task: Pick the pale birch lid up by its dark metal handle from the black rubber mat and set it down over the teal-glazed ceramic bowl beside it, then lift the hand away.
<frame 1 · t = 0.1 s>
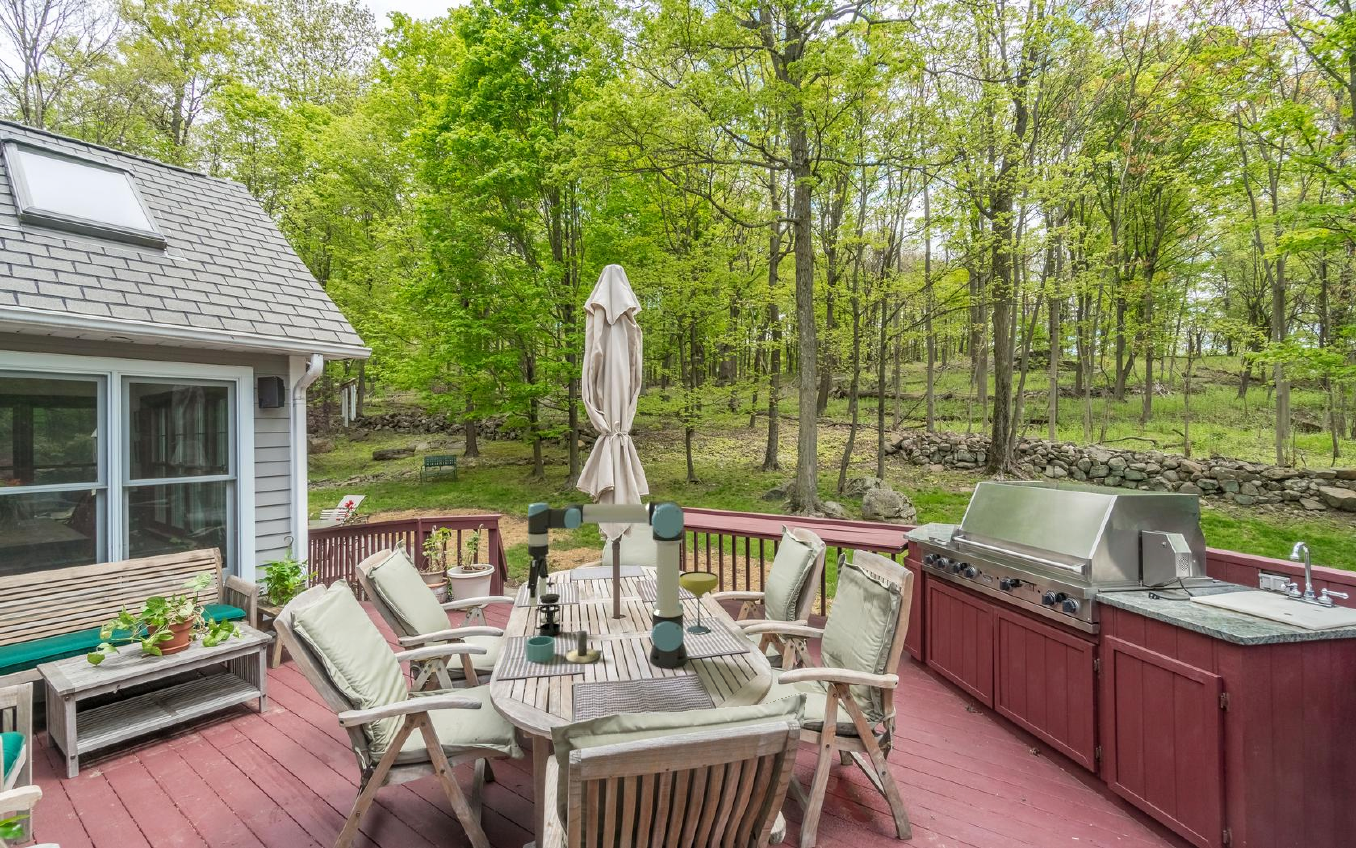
hand: (538, 600, 221), 28 cm above the table, fingers open, 13 cm apart
french press: (548, 634, 264), on the table
mat: (582, 658, 236), on the table
lid: (582, 657, 236), point 1 cm above the table, touching mat
cocktail glass: (698, 630, 268), on the table
bowl: (540, 658, 236), on the table
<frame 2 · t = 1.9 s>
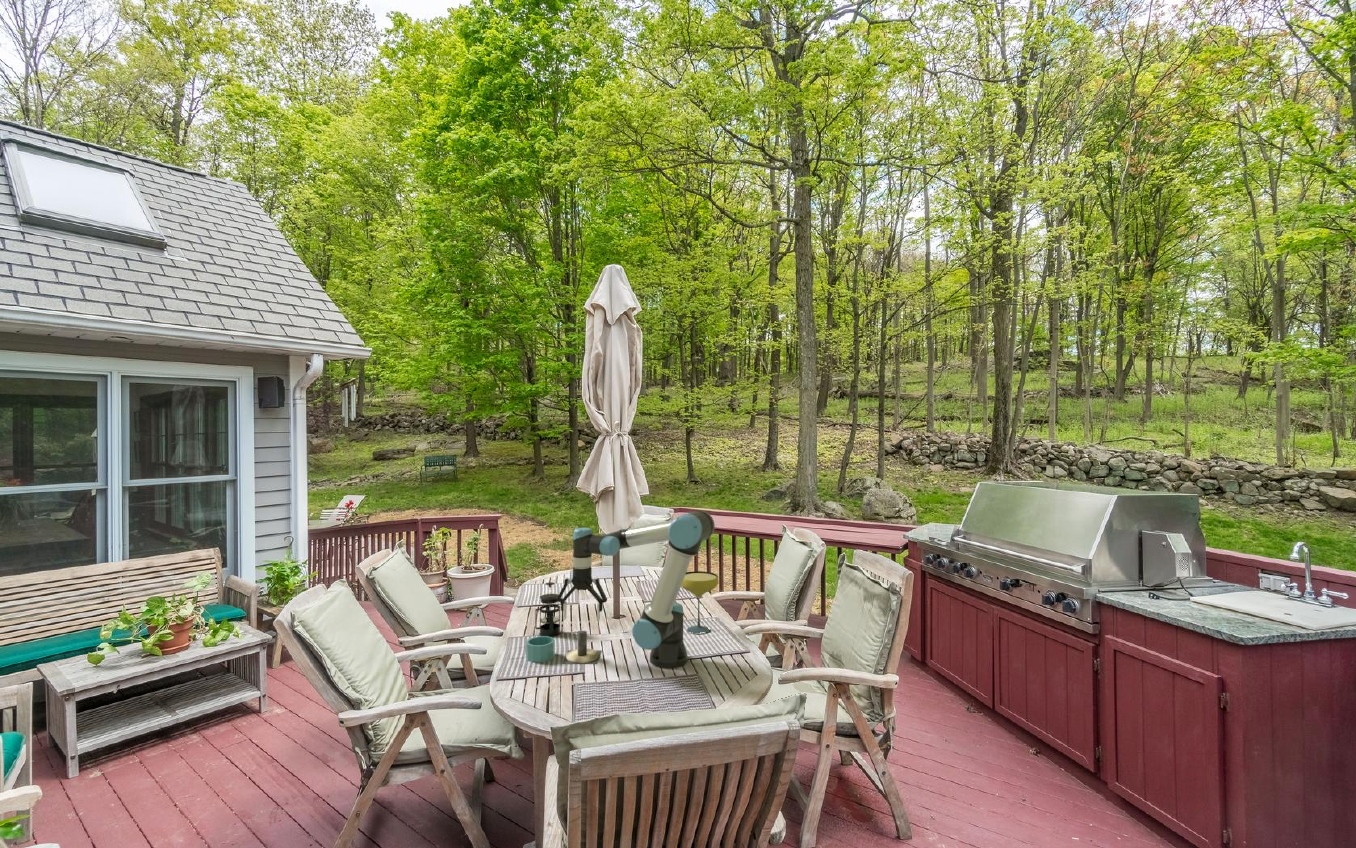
hand: (581, 619, 236), 16 cm above the table, fingers open, 13 cm apart
nothing on the table moved.
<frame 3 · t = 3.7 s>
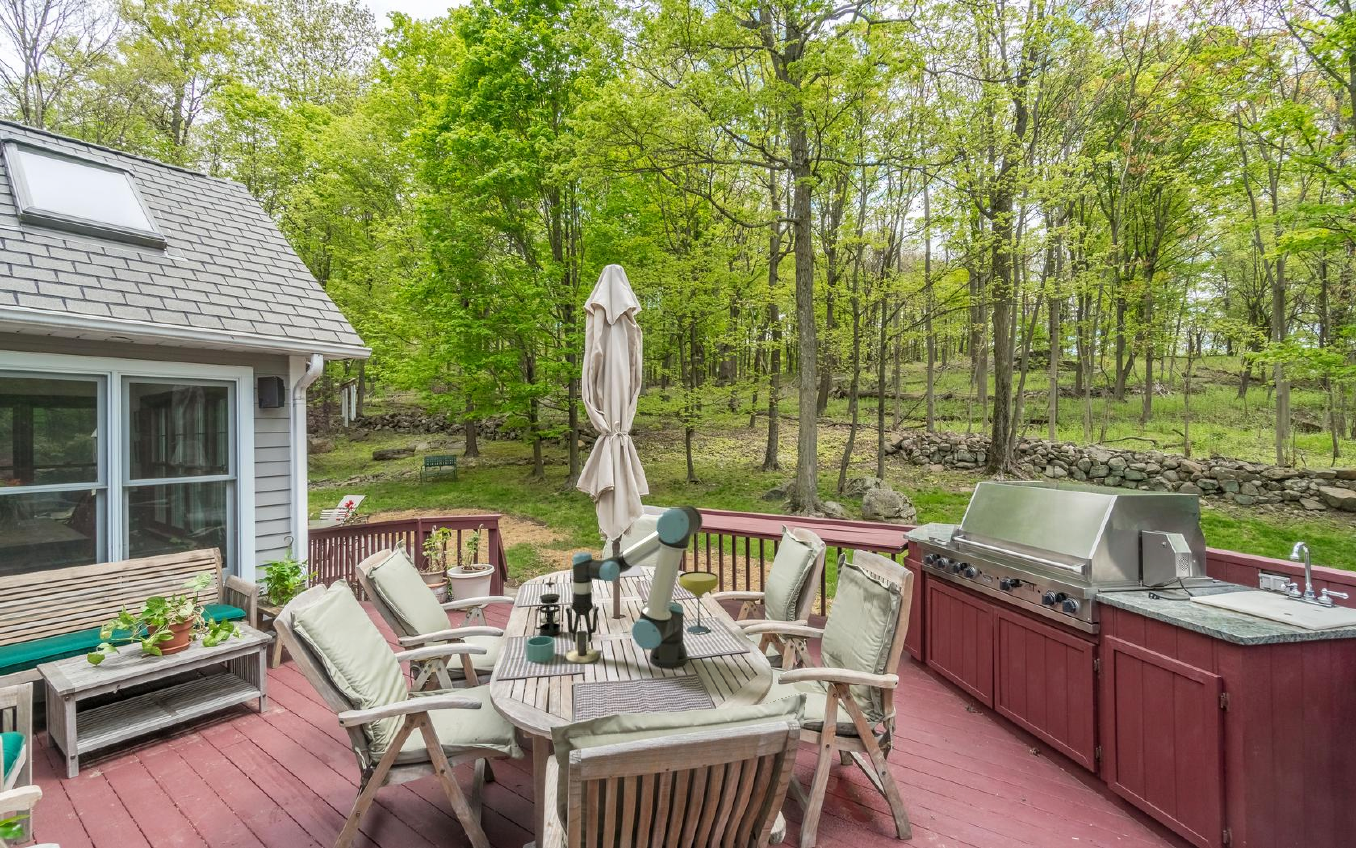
hand: (582, 649, 236), 4 cm above the table, fingers closed on lid, 3 cm apart
lid: (582, 657, 236), point 1 cm above the table, touching gripper
everything else where it was.
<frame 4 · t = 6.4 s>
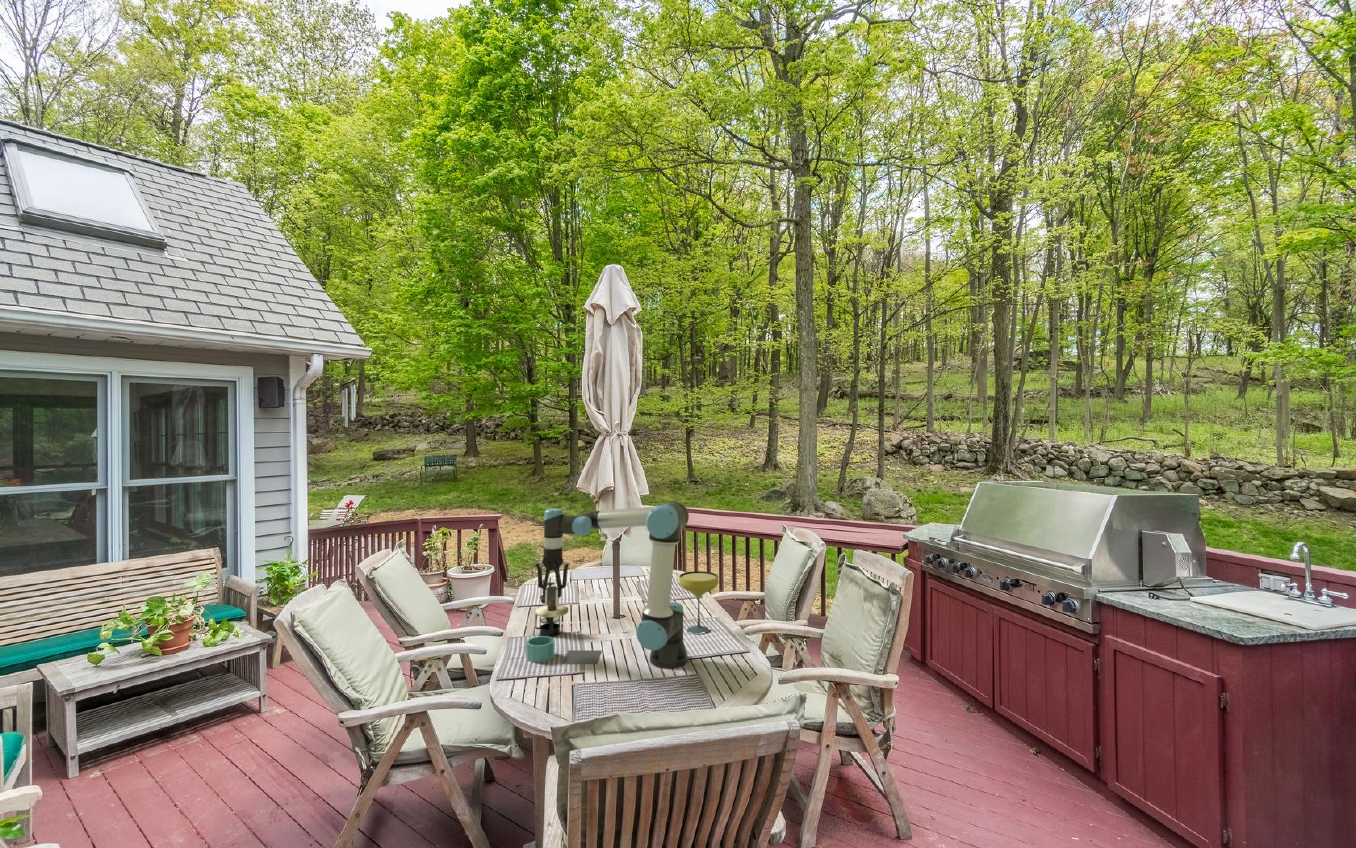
hand: (551, 604, 236), 22 cm above the table, fingers closed on lid, 3 cm apart
lid: (551, 612, 236), point 19 cm above the table, touching gripper
everything else where it was.
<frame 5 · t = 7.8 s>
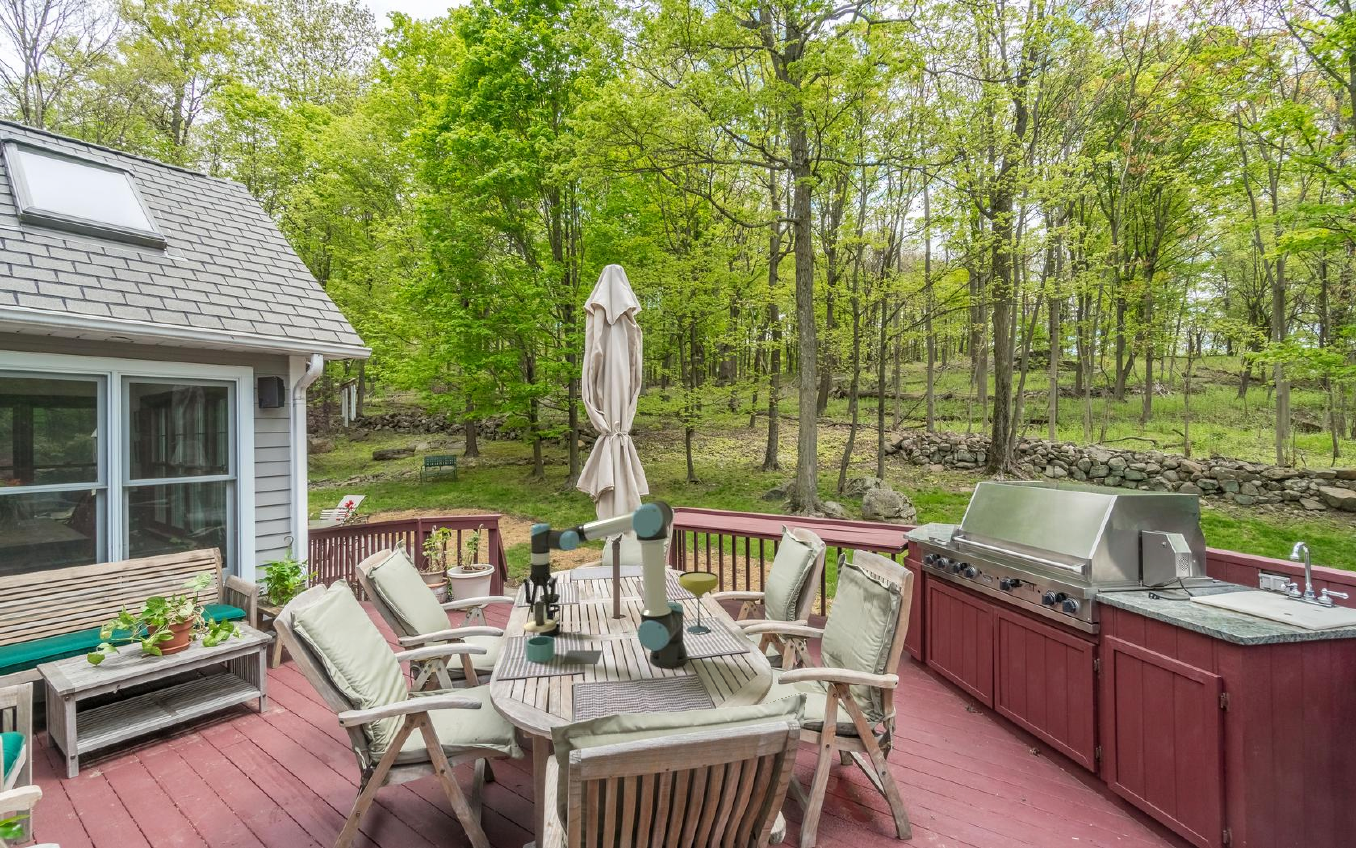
hand: (540, 620, 236), 15 cm above the table, fingers closed on lid, 3 cm apart
lid: (540, 627, 236), point 13 cm above the table, touching gripper
everything else where it was.
when the fingers open (12 cm above the table, at t = 9.1 s): lid drops 2 cm, resting on bowl.
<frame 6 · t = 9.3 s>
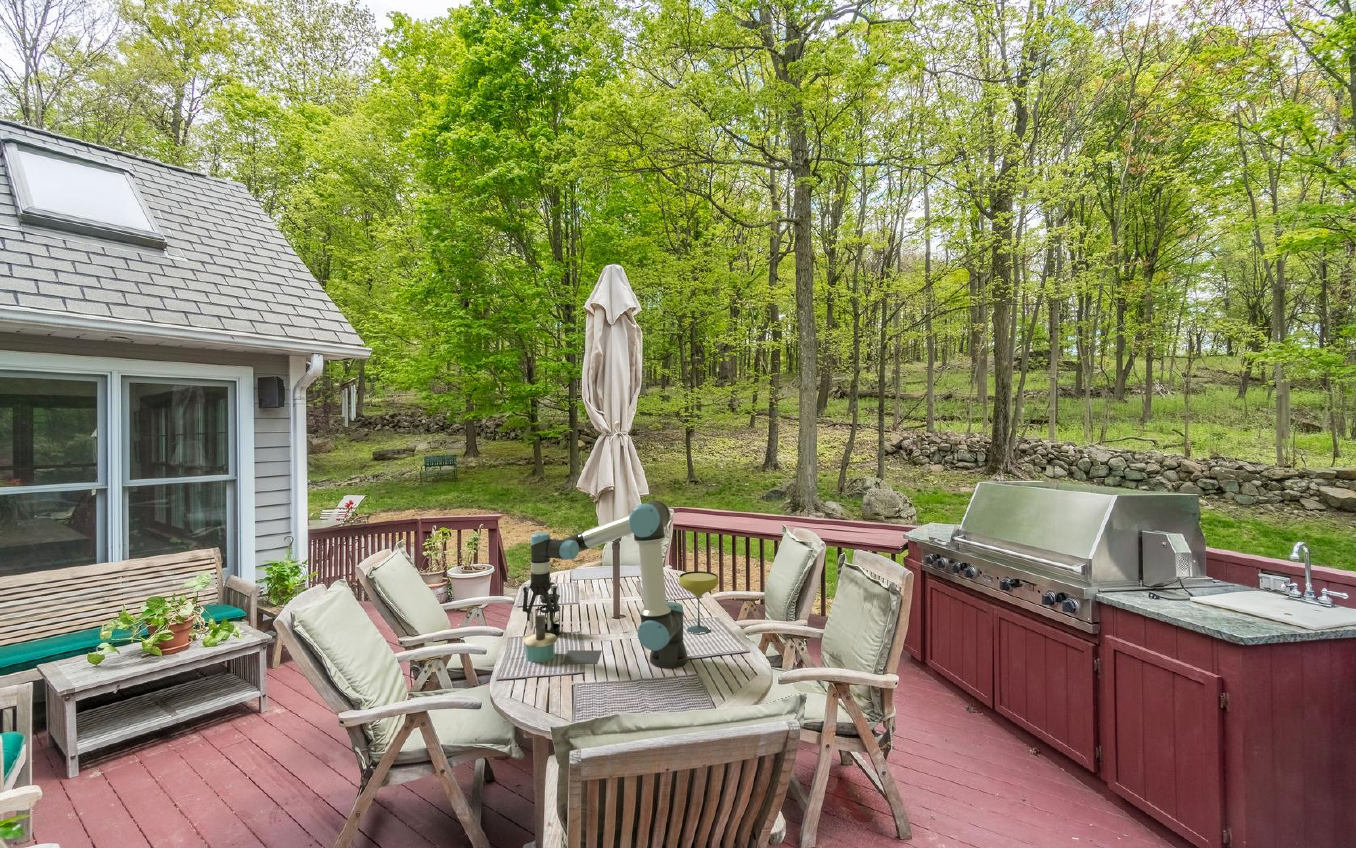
hand: (540, 628, 236), 12 cm above the table, fingers open, 7 cm apart
lid: (540, 641, 236), point 7 cm above the table, touching bowl
everything else where it was.
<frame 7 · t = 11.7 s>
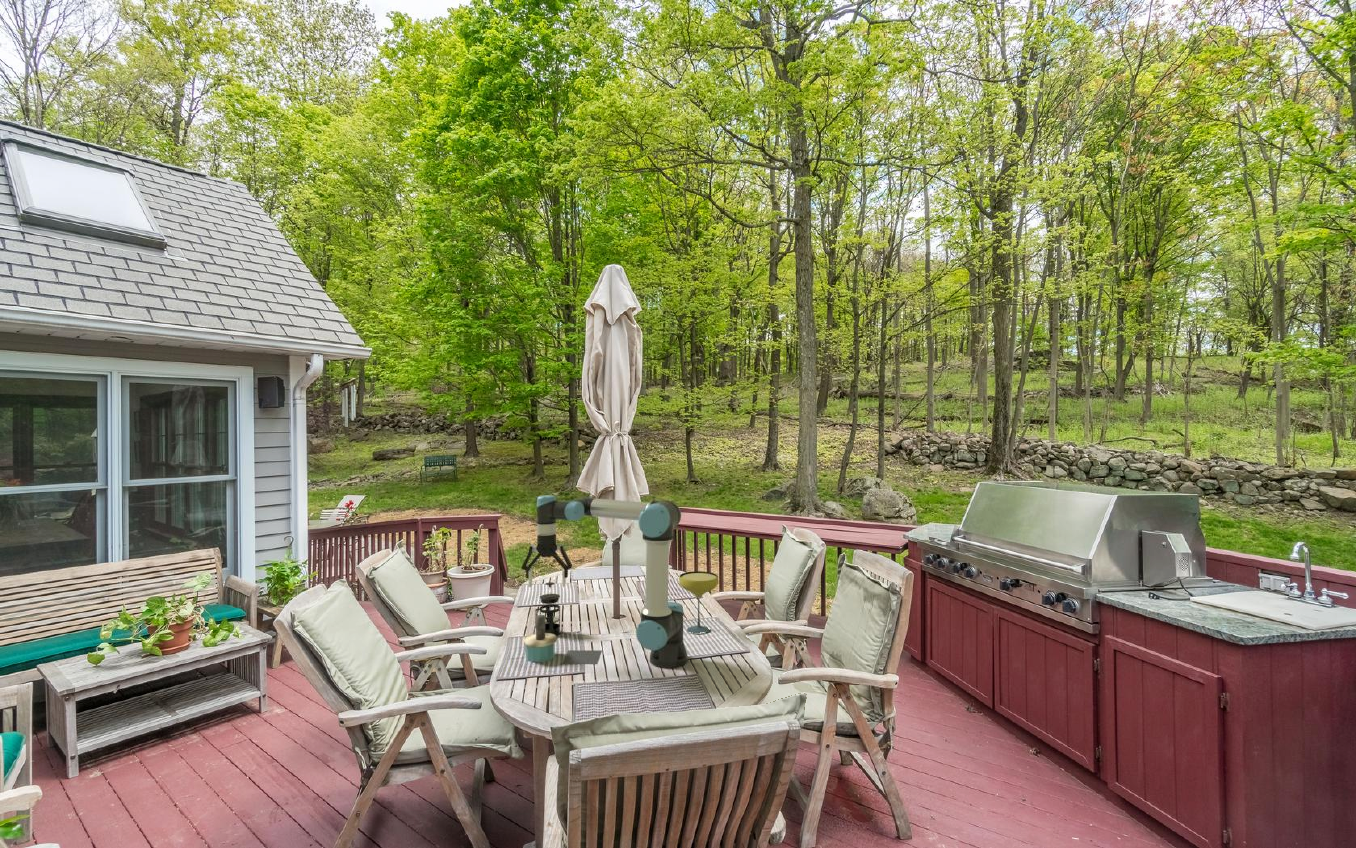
hand: (547, 586, 237), 29 cm above the table, fingers open, 13 cm apart
nothing on the table moved.
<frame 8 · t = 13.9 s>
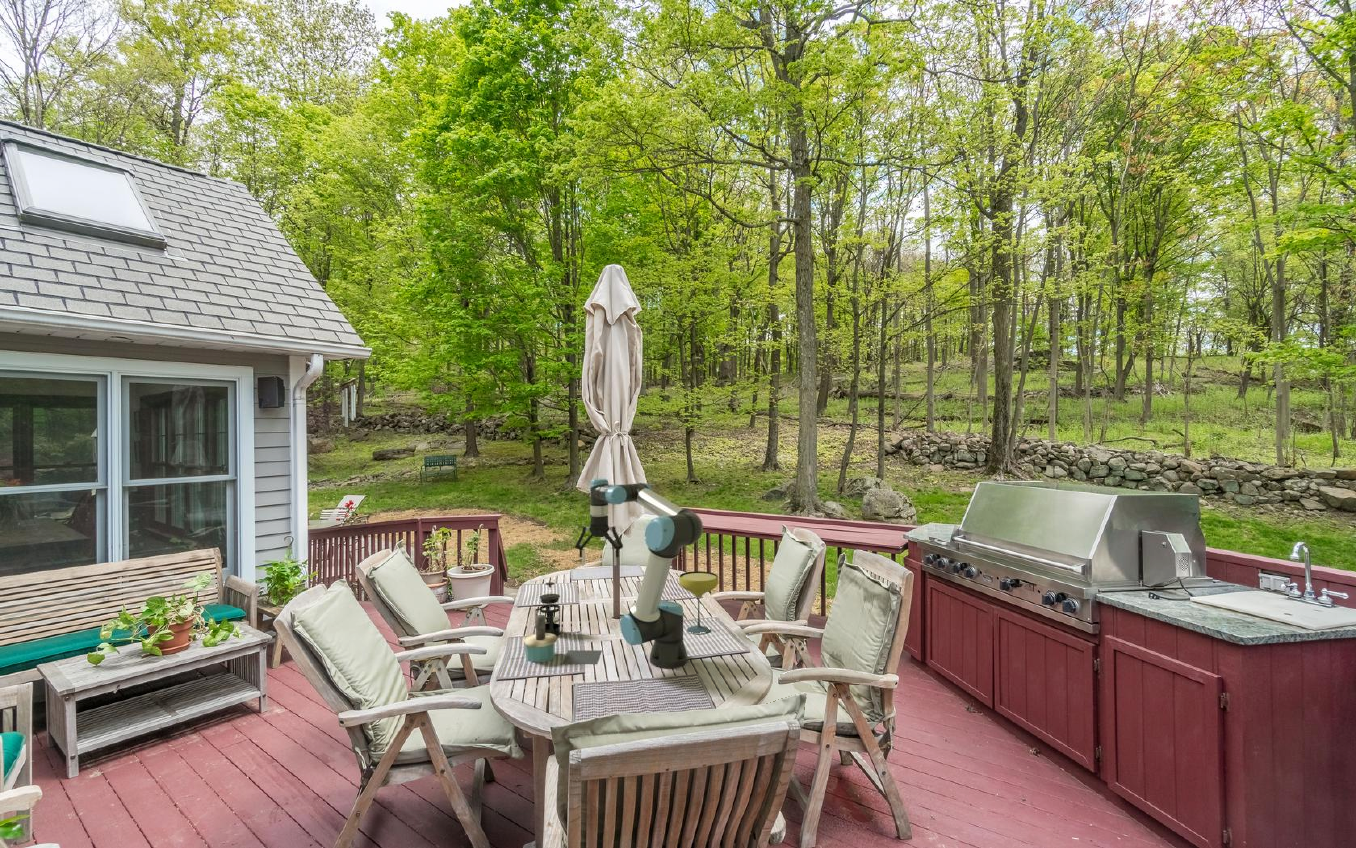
hand: (599, 565, 249), 35 cm above the table, fingers open, 13 cm apart
nothing on the table moved.
at the end: lid 0.1 cm off-centre on the bowl, point 7.0 cm above the bowl's base; lid tilted 0°; the gripper is holding nothing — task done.
